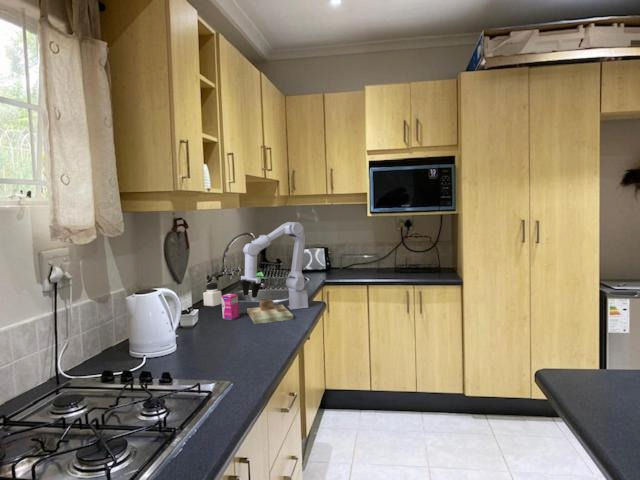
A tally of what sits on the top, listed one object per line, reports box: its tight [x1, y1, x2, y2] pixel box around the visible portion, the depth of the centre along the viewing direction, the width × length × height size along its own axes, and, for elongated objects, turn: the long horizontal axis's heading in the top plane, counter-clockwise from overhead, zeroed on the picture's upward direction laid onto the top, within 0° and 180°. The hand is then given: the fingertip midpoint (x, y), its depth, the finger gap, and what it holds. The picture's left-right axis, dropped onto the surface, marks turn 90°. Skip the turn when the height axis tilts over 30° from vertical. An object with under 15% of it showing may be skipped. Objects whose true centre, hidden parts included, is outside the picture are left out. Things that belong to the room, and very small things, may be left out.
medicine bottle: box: [202, 282, 223, 307], centre depth 254 cm, size 7×7×12 cm
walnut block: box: [258, 298, 275, 311], centre depth 230 cm, size 6×6×4 cm
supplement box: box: [221, 293, 240, 321], centre depth 221 cm, size 6×6×12 cm
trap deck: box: [246, 304, 294, 325], centre depth 223 cm, size 18×24×2 cm
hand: (250, 296), depth 223 cm, fingers open, 7 cm apart
